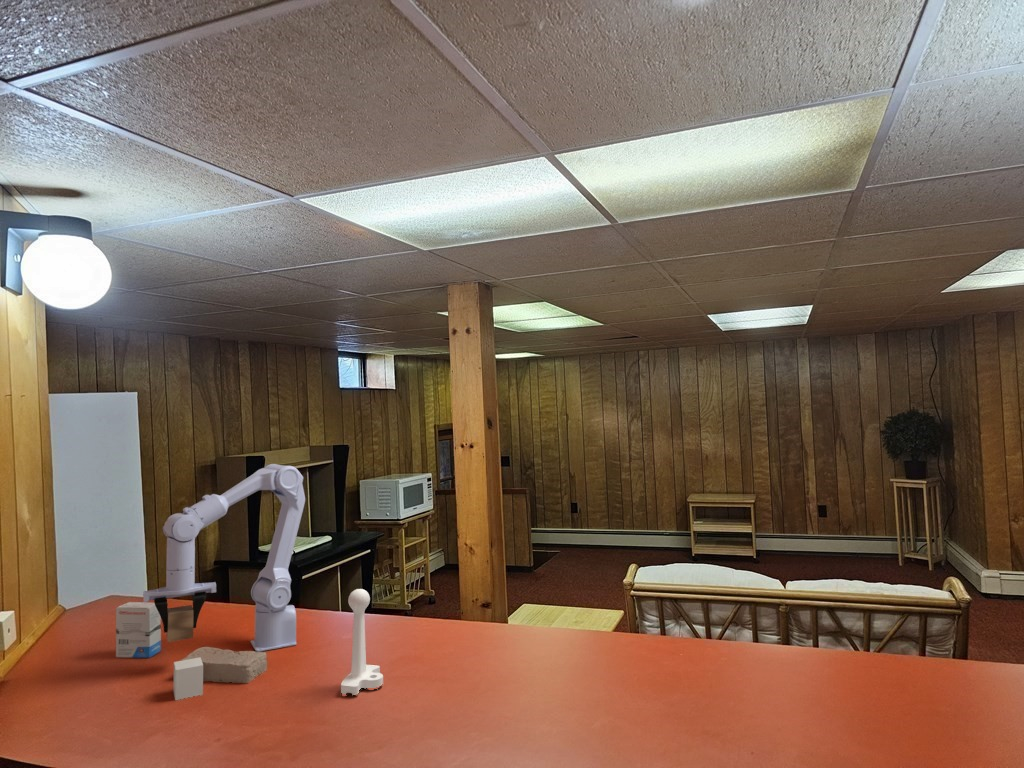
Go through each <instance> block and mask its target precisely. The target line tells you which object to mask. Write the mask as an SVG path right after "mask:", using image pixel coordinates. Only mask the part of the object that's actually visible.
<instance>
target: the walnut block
mask: <svg viewBox="0 0 1024 768" xmlns="http://www.w3.org/2000/svg"><path fill="white" fill-rule="evenodd" d="M167 623H168V632H166V639H167V643H171V642H175V641H176V642H177V641H183V640H188V639H194V628H193V604H188V605H181V606H175V607H167Z"/></svg>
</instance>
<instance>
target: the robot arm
mask: <svg viewBox="0 0 1024 768" xmlns="http://www.w3.org/2000/svg"><path fill="white" fill-rule="evenodd" d="M303 482H304V476H303V475H302V474H301V472H300V471H299V470H298V468H296V467H295V466H292V465H282V464H281V465H280V464H278V463H271V464H268V465H266V466H265V467H262V468H259V469H258V470H256V471H255V472H253V474H251V475H250V476H248V477H247V478H244V479H243V480H242V481H240V482H239V483H236V485H234V486H233V487H231V488H229V489H228V490H226V491H225V492H224V493H222V494H220V495H219V494H216V493H212V494H205V495H203V496H202V497H201V499H202V500H200V501H198V502H197V503H194V504H193V505H191V506H186V507H184V508H183V509H182V511H183V512H182V513H181V512H177V513H174V514H171V515H170V516H169V517H168V518H167V519H166V520H165V522H164V524H163V525H164V526H162V531H163V534H164V536H165V537H167V538H166V570H165V571H166V572H165V573H166V577H165V578H166V579H165V580H166V584H165V585H166V586H164V587H159V588H155V589H149V590H144V591H143V595H142V596H143V597H142V599H143V601H142V602H147V603H149V601H154V602H153V603H155V606H156V608H157V610H158V612H159V614H160V616H161V623H162V627H163V633H166V634H167V632H168V623H167V608H168V604H169V603H168V599H171V598H178V597H185V596H192V608H193V629H195V628H197V623H198V619H199V615H200V613H201V610H202V607H203V606H204V603H206V599H207V593H210V594H213V593H217V583H216V581H214V582H201V583H200V582H198V583H195V581H196V580H195V579H196V578H195V577H196V575H195V573H196V570H195V568H196V562H195V561H196V556H195V555H196V546H195V544H196V543H195V542H196V540H195V539H196V538H197V536H198V535H199V533H200V531H201V530H203V529H205V528H206V527H209V525H211V524H213V523H215V522H217V521H218V520H219V519H221V518H223V517H224V516H225V515H227V513H228V509H229V507H231V506H233V505H234V504H236V503H238V502H240V501H242V500H243V499H245V498H247V497H249V496H251V495H253V494H254V493H256V492H258V491H270V492H273V494H275V496H276V497H277V499H278V500H279V502H280V503H281V507H280V510H279V514H278V517H277V521H276V525H275V528H274V529H275V530H274V533H273V537H272V540H271V543H270V544H271V545H270V549H269V553H268V556H267V561H266V564H265V567H263V569H261V570H260V571H259V572H258V576H257V579H256V581H254V583H253V585H252V587H251V590H250V596H251V598H252V600H253V601H254V602H255V607H254V639H252V640H250V644H251V646H252V647H253V649H254V650H255V652H266V651H270V650H274V649H280V648H281V649H282V648H286V647H292V646H296V645H297V611H296V608H295V605H293V604H289V602H290V600H291V598H292V590H291V583H292V578H291V574H290V572H289V566H290V563H291V559H292V556H293V552H294V547H295V543H296V539H297V536H298V533H299V532H298V531H299V528H300V524H301V520H302V515H303V512H304V508H305V503H306V496H305V490H304V485H303Z"/></svg>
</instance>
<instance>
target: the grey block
mask: <svg viewBox="0 0 1024 768" xmlns="http://www.w3.org/2000/svg"><path fill="white" fill-rule="evenodd" d="M172 690H173V691H172V692H173V696H174V701H181V700H185V699H189V698H188V697H190V698H194V697H193V696H195V697H199V696H198V695H200V696H203V695H204V681H203V663H202V660H201V657H199V658H194V659H188V660H183V661H180V660H179V661H173V689H172ZM184 698H185V699H184ZM180 699H181V700H180Z"/></svg>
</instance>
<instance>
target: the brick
mask: <svg viewBox="0 0 1024 768" xmlns="http://www.w3.org/2000/svg"><path fill="white" fill-rule="evenodd" d="M199 657H201V660H202V663H203V682H208V681H213V682H214V683H229V682H232V684H249V683H248V682H250V681H252V680H253V679H254V678H255V677H257V676H258V675H259V674H261V673H263V672H264V671H266V670H267V671H268V660H267V658H268V656H267V652H266V651H260V652H256V651H254V650H253V651H252V650H250V651H248V650H243V651H242V650H239V651H235V650H231V649H221V648H218V647H210V646H203V647H198V648H197V649H195V650H193V651H192V652H189V654H187V655H186V656H184V658H182V659H180V660H179V661H183V660H188V659H194V658H199ZM267 671H266V672H267ZM263 674H264V673H263ZM261 675H262V674H261ZM257 678H258V677H257ZM254 680H255V679H254ZM252 682H253V681H252ZM250 683H251V682H250Z"/></svg>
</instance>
